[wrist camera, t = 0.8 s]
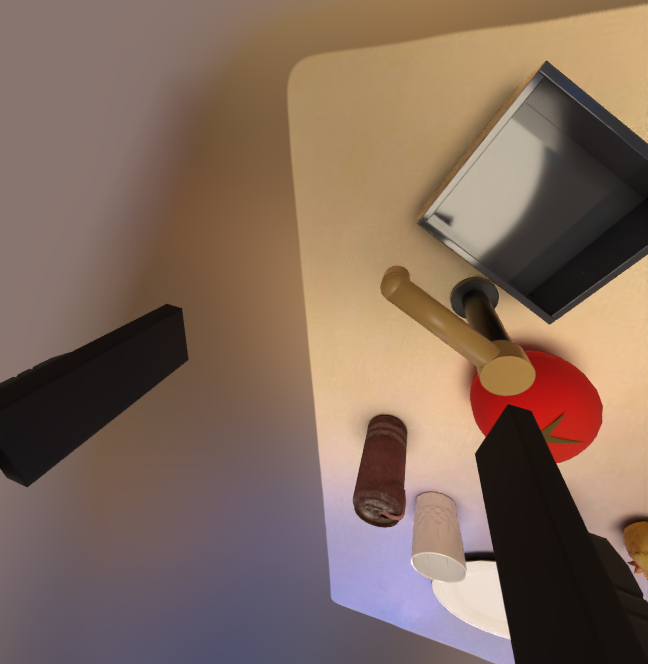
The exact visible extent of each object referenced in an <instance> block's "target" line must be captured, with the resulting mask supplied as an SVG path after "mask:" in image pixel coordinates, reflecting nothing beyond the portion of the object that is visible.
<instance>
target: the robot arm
mask: <svg viewBox="0 0 648 664" xmlns="http://www.w3.org/2000/svg"><path fill="white" fill-rule="evenodd" d="M187 360H188V353H187V344H186V337H185V328H184V321H183V313H182V308H179V307H176V306H172V305H169V304H165V305H164V306H161V307H160V308H158V309H156V310H154V311H152V312H150V313H148V314H146V315H144V316H142V317H140V318H138V319H136V320H134V321H132V322H130V323H128V324H126V325H124V326H122V327H120V328H118V329H116V330H114V331H112V332H110V333H108V334H106V335H104V336H102V337H100V338H98V339H96V340H94V341H93V342H90V343H88V344H87V345H84V346H82V347H80V348H78V349H76V350H74V351H73V352H69V353H66V354H63V355H59V356H56V357H53V358H50V359H48V360H46V361H44V362H42V363H40V364H38V365H36V366H34V367H33V369H28V370H26V371H24V372H22V373H20V374H18V376H17V377H12V378H10V379H8V380H6V381H4V382H2V383H0V469H1V470H2V472H3V473H4V474H5V476H6V477H7V478H9V479H11V480H13V481H15V482H17V483H19V484H21V485H23V486H25V487H28V486H30V485H31V484H32V483H33V482H35V481H36V480H37V479H39V478H40V477H41V476H42V475H44V474H45V473H46V472H47V471H49V470H50V469H51V468H52V467H54V466H55V465H56V464H57V463H59V462H60V461H61V460H62V459H64V458H65V457H66V456H68V455H69V454H70V453H71V452H73V450H75V449H76V448H77V447H79V446H80V445H81V444H83V443H84V442H85V441H87V440H88V439H89V438H90V437H92V436H93V435H94V434H95V433H97V432H98V431H99V430H100V429H102V428H103V427H104V426H105V425H107V424H108V423H109V422H110V421H112V420H113V419H114V418H116V417H117V416H118V415H119V414H121V413H122V412H123V411H124V410H126V409H127V408H128V407H129V406H131V405H132V404H133V403H134V402H136V401H137V400H138V399H140V398H141V397H142V396H143V395H144V394H146V393H147V392H148V391H150V390H151V389H152V388H153V387H155V386H156V385H157V384H158V383H159V382H161V381H162V380H163V379H165V378H166V377H167V376H168V375H170V374H171V373H172V372H174V371H175V370H176V369H177V368H179V367H180V366H181V365H182V364H184V363H185V362H186V361H187ZM475 457H476V462H477V467H478V472H479V477H480V483H481V488H482V493H483V498H484V503H485V509H486V514H487V519H488V524H489V530H490V535H491V540H492V545H493V550H494V556H495V561H496V566H497V571H498V576H499V582H500V587H501V592H502V597H503V602H504V608H505V613H506V618H507V623H508V628H509V634H510V639H511V644H512V649H513V654H514V660H515V664H648V602H647V601H646V600H644V599H643V593H642V591H641V589H640V587H639V585H638V583H637V582H636V580H635V578H634V576H633V574H632V572H631V570H630V568H629V566H628V565H627V564H626V562H625V561H624V560H623V559H622V558H621V556H620V555H619V554H618V553H617V551H616V550H615V549H614V548H613V546H612V545H611V544H610V543H609V541H608V540H607V539H606V538H603V537H600V536H597V535H595V534H592V533H589V532H588V530H587V528H586V526H585V524H584V522H583V520H582V517H581V515H580V513H579V511H578V509H577V507H576V505H575V502H574V500H573V498H572V496H571V494H570V492H569V490H568V488H567V485H566V483H565V481H564V479H563V477H562V475H561V473H560V470H559V468H558V466H557V464H556V462H555V460H554V458H553V455H552V453H551V451H550V449H549V447H548V445H547V443H546V440H545V438H544V436H543V434H542V432H541V430H540V428H539V426H538V423H537V421H536V419H535V417H534V415H533V413H532V411H531V410H527V409H524V408H520V407H517V406H514V405H510V404H507V406H506V407H505V409H504V410H503V412H502V413H501V415H500V416H499V418H498V420H497V421H496V423H495V424H494V426H493V427H492V429H491V430H490V432H489V433H488V435H487V436H486V438H485V439H484V441H483V442H482V444H481V445H480V447H479V448H478V450H477V451H476V453H475Z"/></svg>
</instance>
